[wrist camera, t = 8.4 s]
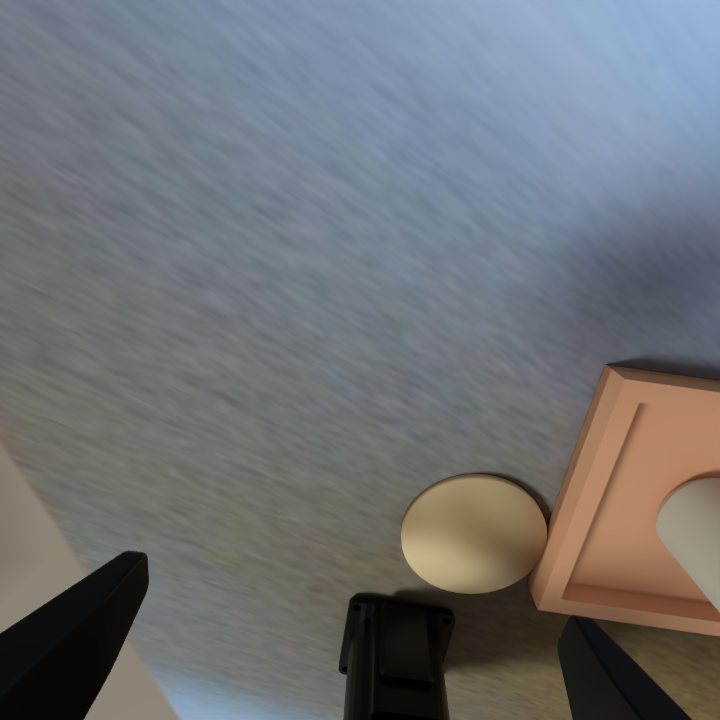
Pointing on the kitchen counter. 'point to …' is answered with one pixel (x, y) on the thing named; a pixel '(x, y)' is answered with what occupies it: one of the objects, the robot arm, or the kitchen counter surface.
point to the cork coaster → (473, 534)
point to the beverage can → (694, 532)
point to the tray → (631, 503)
